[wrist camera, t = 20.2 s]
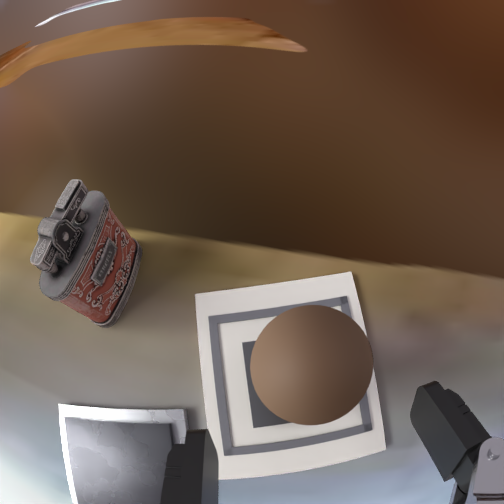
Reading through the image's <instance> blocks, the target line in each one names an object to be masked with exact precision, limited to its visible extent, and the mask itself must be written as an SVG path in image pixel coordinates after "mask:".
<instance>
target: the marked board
mask: <svg viewBox="0 0 504 504" xmlns="http://www.w3.org/2000/svg"><path fill="white" fill-rule="evenodd" d="M195 301H196V316H197V329H198V342H199V353H200V364H201V374H202V384H203V393H204V402H205V411H206V419H207V427H208V430H209V433H210V435H211V438H212V440H213V443H214V445H215V448H216V450H217V454H218V461H219V478H218V480H226V479H242V478H254V477H263V476H272V475H279V474H286V473H293V472H299V471H304V470H310V469H315V468H320V467H324V466H329V465H333V464H338V463H342V462H346V461H350V460H353V459H357V458H361V457H364V456H368V455H371V454H374V453H377V452H381V451H384V450H386V444H385V436H384V429H383V421H382V415H381V408H380V402H379V396H378V390H377V384H376V379H375V373H374V368H373V373H372V378H371V382H370V384H369V387H368V389H367V391H366V393H365V395H364V397H363V398H362V399H361V401H360V402H359V403H358V404H357V405H356V406H355V407H354V408H353V409H352V410H351V411H350V412H349V413H347V414H346V415H344V416H343V417H341V418H339V419H337V420H335V421H332V422H329V423H325V424H320V425H300V424H295V423H287V424H280V425H274V426H266V427H258V428H253V422H252V414H251V407H250V400H249V393H248V385H247V378H246V370H245V362H244V354H243V347H242V342H249V341H256V340H257V338H258V336H259V335H260V333H261V332H262V330H263V329H264V328H265V327H266V325H267V324H268V323H269V322H270V321H272V320H273V319H274V318H275V317H277V316H278V315H280V314H281V313H283V312H285V311H287V310H289V309H292V308H295V307H299V306H304V305H322V306H327V307H331V308H334V309H337V310H339V311H341V312H343V313H345V314H346V315H348V316H349V317H350V318H352V319H353V320H354V321H355V322H356V323H357V324H358V325H359V326H360V327H361V329H362V330H363V331H364V333H365V335H366V336H367V334H366V329H365V325H364V321H363V316H362V312H361V308H360V304H359V300H358V296H357V292H356V288H355V284H354V280H353V276H352V273H351V272H346V273H340V274H333V275H327V276H321V277H314V278H308V279H301V280H294V281H288V282H281V283H274V284H267V285H260V286H252V287H245V288H238V289H230V290H222V291H214V292H206V293H198V294H195Z"/></svg>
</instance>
